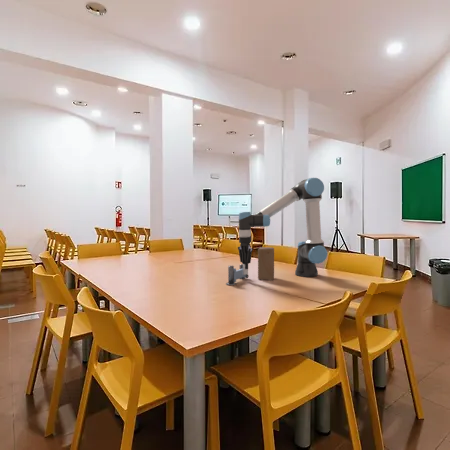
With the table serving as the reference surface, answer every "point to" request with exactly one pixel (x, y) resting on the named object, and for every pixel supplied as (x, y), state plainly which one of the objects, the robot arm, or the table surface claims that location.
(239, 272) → the grey i-beam block
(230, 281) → the gate posts
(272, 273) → the wooden block
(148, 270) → the table surface
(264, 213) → the robot arm
